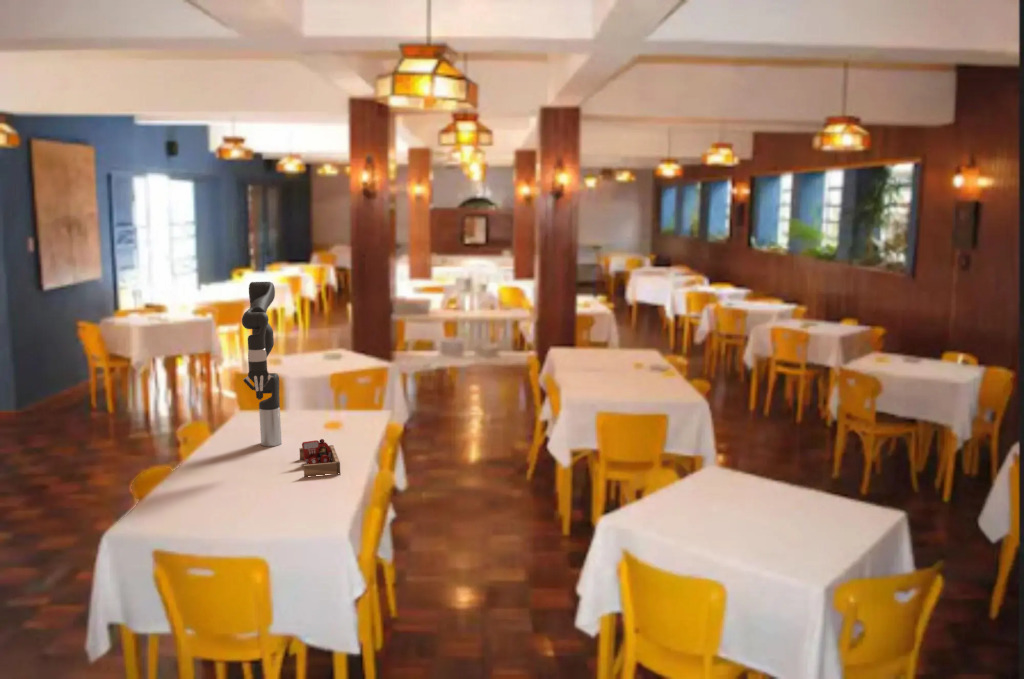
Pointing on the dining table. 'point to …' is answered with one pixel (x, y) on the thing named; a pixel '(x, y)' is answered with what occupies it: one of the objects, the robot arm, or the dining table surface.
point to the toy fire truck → (316, 452)
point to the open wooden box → (322, 465)
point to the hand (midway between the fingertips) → (259, 399)
